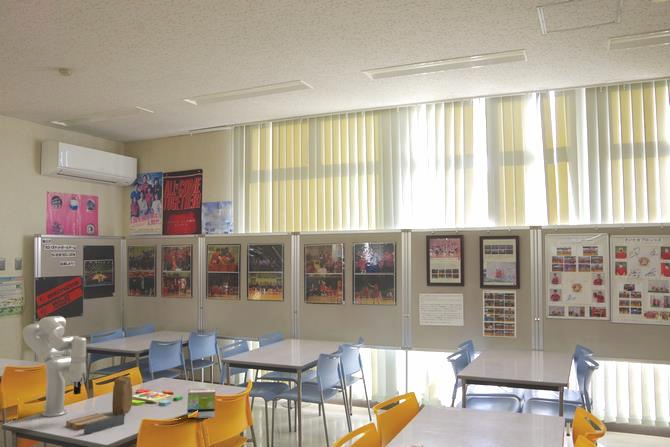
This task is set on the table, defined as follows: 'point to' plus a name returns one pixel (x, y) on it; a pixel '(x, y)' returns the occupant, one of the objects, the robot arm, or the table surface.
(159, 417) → the table surface
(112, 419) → the block
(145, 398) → the pattern blocks set
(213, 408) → the tea box
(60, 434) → the table surface
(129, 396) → the block
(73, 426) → the walnut slab
